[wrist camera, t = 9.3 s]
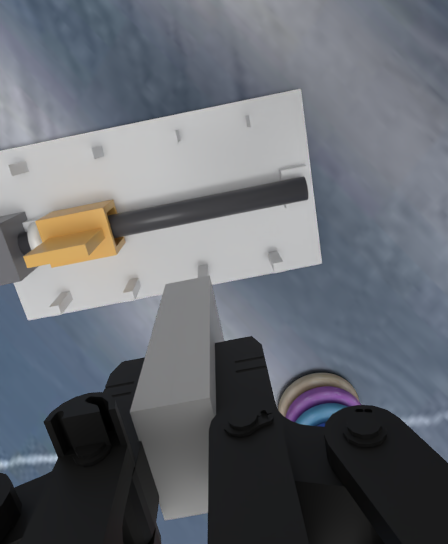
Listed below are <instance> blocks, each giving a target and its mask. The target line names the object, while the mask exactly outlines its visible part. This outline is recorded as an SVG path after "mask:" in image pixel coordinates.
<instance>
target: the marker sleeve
mask: <svg viewBox="0 0 448 544" xmlns="http://www.w3.org/2000/svg"><path fill="white" fill-rule="evenodd" d="M112 214H117V210H116V207H115V203H114V200H113V199H112V200H107V201H102V202H98V203H93V204H88V205H83V206H78V207H73V208H68V209H63V210H58V211H53V212H51V213H49V214H47V215H45V216H43V217H42V218H40V219H38V220H36V221H35V223H36V225H37V228H38V231H39V234H40V237H41V240H42V243H41V244H40V245H38V246H37V247H36V248H34V249H33V250H31V251H30V252H29V253H27V254H26V255H24V256H23V258H24V260H25V263H26V266H27V268H31V267H37V266H42V265H47V264H50V265H51V268H53V267H58V266H64V265H69V264H74V263H79V262H84V261H89V260H94V259H99V258H104V257H109V256H114V255H117V254H118V253H119V251H120V250H121V248H122V247H123V245H124V244H125V243H126V242H125V239H124V236H123V237H118V238H114V237H113V234H112V230H111V227H110V223H109V220H108V216H107V215H112Z"/></svg>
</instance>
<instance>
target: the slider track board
mask: <svg viewBox="0 0 448 544" xmlns="http://www.w3.org/2000/svg"><path fill="white" fill-rule="evenodd" d="M112 199H113V200H114V203H115V207H116V210H117V214H112V215H107V216H108V220H109V223H110V227H111V230H112V234H113V237H114V238H118V237H123V236H124V239H125V242H126V243H125V244H124V245H123V247H122V248H121V250H120V251H119V253H118V254H117V255H114V256H109V257H104V258H99V259H94V260H89V261H84V262H79V263H74V264H69V265H64V266H58V267H53V268H51V265H50V264H47V265H42V266H37V267H31V268H27V266H26V263H25V260H24V258H23V256H24V255H26V254H27V253H29V252H30V251H31V250H33V249H34V248H36V247H37V246H38V245H40V244H41V243H42V240H41V237H40V234H39V231H38V228H37V225H36V223H35V221H36V220H38V219H40V218H42V217H43V216H45V215H47V214H49V213H51V212H53V211H58V210H63V209H68V208H73V207H78V206H83V205H88V204H93V203H98V202H102V201H107V200H112ZM317 264H322V258H321V250H320V242H319V234H318V225H317V217H316V209H315V200H314V192H313V184H312V176H311V167H310V159H309V151H308V143H307V134H306V126H305V118H304V110H303V101H302V93H301V89H297V90H292V91H287V92H282V93H277V94H272V95H268V96H263V97H258V98H253V99H248V100H243V101H239V102H234V103H229V104H224V105H219V106H214V107H210V108H205V109H200V110H195V111H190V112H185V113H181V114H176V115H171V116H166V117H161V118H156V119H152V120H147V121H142V122H137V123H132V124H127V125H123V126H118V127H113V128H108V129H103V130H98V131H93V132H89V133H84V134H79V135H74V136H69V137H64V138H60V139H55V140H50V141H45V142H40V143H35V144H31V145H26V146H21V147H16V148H11V149H6V150H2V151H0V285H5V284H10V283H14V285H15V288H16V291H17V293H18V296H19V298H20V301H21V303H22V306H23V309H24V311H25V314H26V316H27V319H28V320H33V319H38V318H43V317H48V316H56V315H61V314H64V313H69V312H74V311H79V310H85V309H90V308H95V307H100V306H105V305H111V304H116V303H121V302H129V301H134V300H136V299H142V298H147V297H152V296H157V295H162V294H163V291H164V288H165V284H169V283H174V282H179V281H184V280H189V279H195V278H200V277H205V276H210V278H211V283H212V285H214V284H219V283H224V282H230V281H235V280H240V279H245V278H250V277H255V276H261V275H266V274H271V273H279V272H284V271H286V270H292V269H297V268H302V267H307V266H312V265H317Z"/></svg>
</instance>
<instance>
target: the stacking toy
mask: <svg viewBox="0 0 448 544" xmlns="http://www.w3.org/2000/svg"><path fill="white" fill-rule="evenodd" d="M355 405H361V404H360V402H359V398H358V395H357V393H356V391H355V389H354V388H353V387H352V385H351V384H350V383H349V382H348V381H346V380H345V379H343V378H342V377H340V376H337V375H334V374H330V373H313V374H309V375H306V376H303V377H301V378H299V379H297V380H296V381H294V382H293V383H292V384H291V385H290V386H288V388H287V389H286V390H285V391H284V393H283V395H282V397H281V399H280V402H279V407H278V411H279V412H280V413H281V414H282V415H283V416H284V417H286V418H287V419H289V420H291V421H293V422H296V423H299V424H303V425H309V426H322V427H325V423H326V421H327V420H328V419H329V418H330V416H331V415H332V414H333V413H335V412H337V411H339V410H341V409H342V408H345V407H350V406H355Z"/></svg>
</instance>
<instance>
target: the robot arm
mask: <svg viewBox="0 0 448 544" xmlns="http://www.w3.org/2000/svg"><path fill="white" fill-rule="evenodd" d="M105 387H106V389H104V391H103V393H102V392H97V393H88V394H84V395H81V396H77V397H75V398H73V399H71V400H69V401H67V402H65V403H63V404H61V405H60V406H59V407H57V408H56V409H55V410H54V411H52V412H51V413H50V414H49V416H48V417H47V418H46V419H45V421H44V424H45V427H46V429H47V431H48V434H49V436H50V439H51V441H52V444H53V446H54V448H55V451H56V453H57V456H58V459H57V462H56V464H55V466H54V468H53V470H52V472H50V473H48V474H46V475H43V476H41V477H39V478H36V479H34V480H32V481H29V482H27V483H24V484H22V485H19V486H17V487H15V488H14V486H13V484H12V482H11V480H10V479H9V477H8V476H7V475H6V474H3V473H0V544H161V535H160V532H159V529H158V526H157V523H156V518H157V511H158V504H160V507H161V510H162V513H163V516H164V519H165V520H170V519H176V518H182V517H187V516H193V515H199V514H205V513H208V544H448V463H447V462H446V461H445V460H444V459H443V458H442V457H441V456H440V455H439V454H438V453H437V452H435V451H434V450H433V449H432V448H431V447H430V446H429V445H428V444H427V443H426V442H425V441H424V440H423V439H421V438H420V437H419V436H418V435H417V434H416V433H415V432H414V431H413V430H412V429H411V428H410V427H409V426H407V425H406V424H405V423H404V422H403V421H402V420H401V419H400V418H399V417H397V416H396V415H394V414H393V413H391V412H389V411H388V410H385V409H382V408H379V407H375V406H369V405H355V406H350V407H345V408H342V409H341V410H339V411H337V412H335V413H333V414H332V415H331V416H330V418H329V419H328V420H327V421H326V423H325V427H322V426H309V425H303V424H299V423H296V422H293V421H291V420H289V419H287V418H286V417H284V416H283V415H282V414H281V413H280V412H279V411H278V409H277V407H276V404H275V400H274V396H273V391H272V387H271V383H270V379H269V374H268V370H267V366H266V361H265V357H264V353H263V348H262V344H260V343H259V342H258V341H257V340H256V339H254V338H253V337H252V336H250V337H244V338H239V339H234V340H228V341H224V338H223V333H222V329H221V324H220V319H219V315H218V310H217V306H216V301H215V296H214V292H213V287H212V283H211V278H210V276H205V277H200V278H195V279H189V280H184V281H179V282H174V283H169V284H165V288H164V291H163V295H162V299H161V302H160V306H159V309H158V313H157V316H156V320H155V324H154V327H153V331H152V334H151V338H150V341H149V345H148V349H147V352H146V356H145V358H140V359H134V360H129V361H124V362H122V363H121V364H120V365H119V366H118V367H117V368H116V369H115V370H114V371H113V372H112V373H111V374H110V376H109V379H108V381H107V384H106V386H105Z"/></svg>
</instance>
